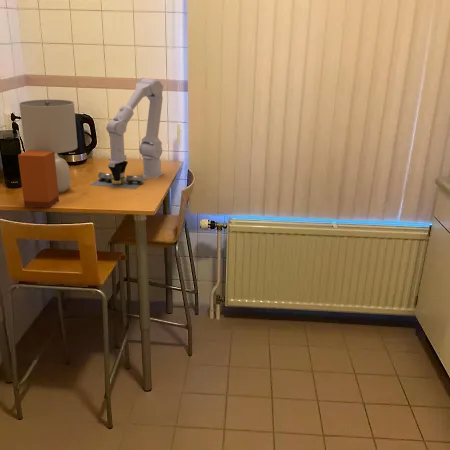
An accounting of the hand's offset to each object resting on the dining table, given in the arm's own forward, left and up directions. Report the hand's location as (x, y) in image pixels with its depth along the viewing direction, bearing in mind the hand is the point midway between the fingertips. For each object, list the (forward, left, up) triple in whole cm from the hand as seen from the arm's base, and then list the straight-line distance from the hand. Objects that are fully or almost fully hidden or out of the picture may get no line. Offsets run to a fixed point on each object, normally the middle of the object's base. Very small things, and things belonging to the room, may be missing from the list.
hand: (119, 179), depth 217 cm
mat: (-2, -1, -3) cm, 4 cm away
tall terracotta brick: (+31, -19, -3) cm, 36 cm away
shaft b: (-2, +7, -3) cm, 7 cm away
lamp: (+15, -22, -3) cm, 27 cm away
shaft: (-2, -7, -3) cm, 7 cm away
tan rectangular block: (0, 0, -2) cm, 2 cm away
